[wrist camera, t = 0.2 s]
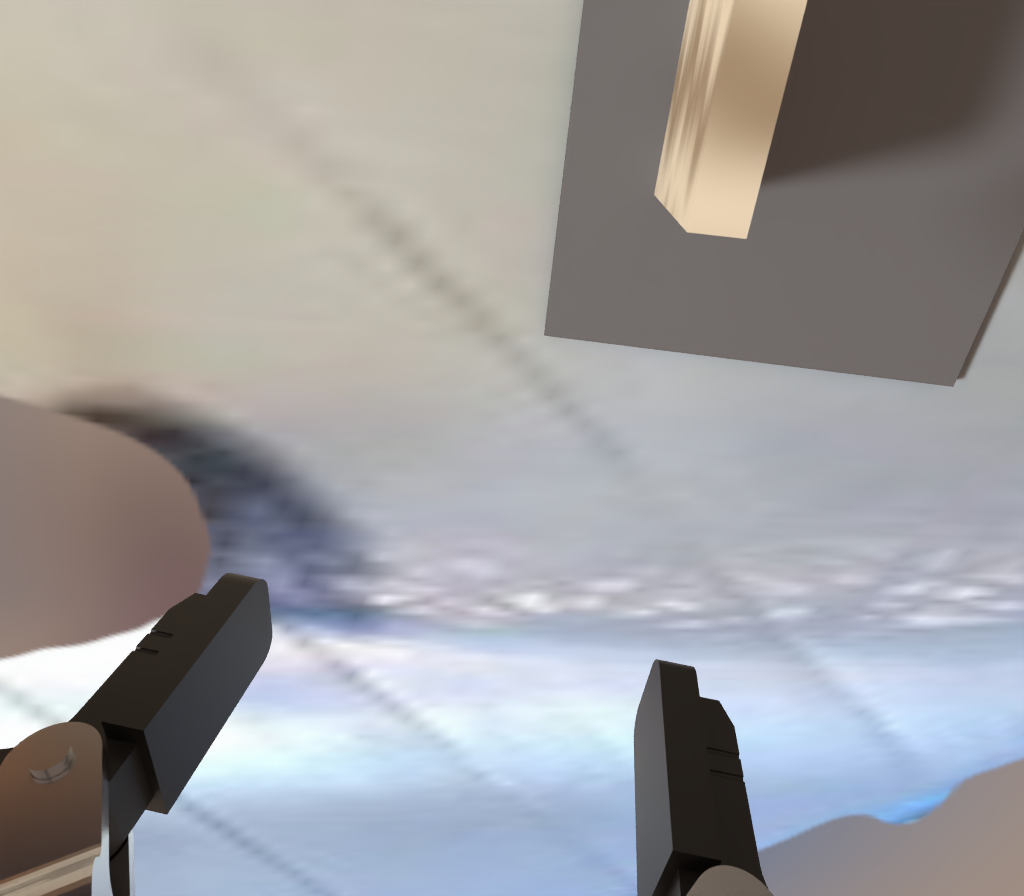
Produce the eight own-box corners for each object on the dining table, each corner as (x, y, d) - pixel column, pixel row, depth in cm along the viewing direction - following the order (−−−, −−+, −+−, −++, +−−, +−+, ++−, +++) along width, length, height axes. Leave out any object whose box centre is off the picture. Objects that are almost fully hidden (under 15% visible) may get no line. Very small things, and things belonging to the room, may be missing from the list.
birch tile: (691, -10, 29) (759, -111, 17) (737, -6, 29) (839, -105, 17) (654, 194, 34) (686, 232, 21) (694, 199, 33) (750, 239, 21)
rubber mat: (615, -260, 27) (615, -271, 26) (1214, -224, 25) (1232, -234, 24) (545, 331, 39) (544, 335, 38) (946, 381, 37) (953, 386, 36)
